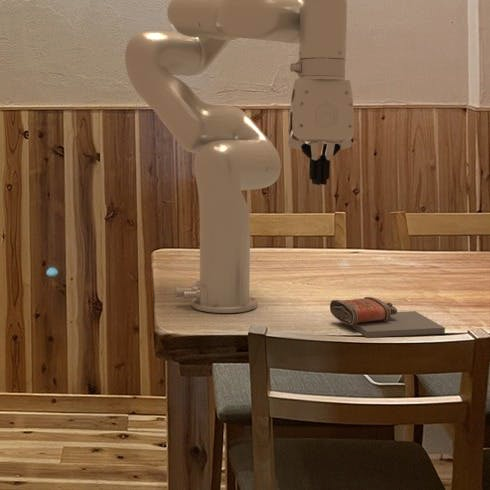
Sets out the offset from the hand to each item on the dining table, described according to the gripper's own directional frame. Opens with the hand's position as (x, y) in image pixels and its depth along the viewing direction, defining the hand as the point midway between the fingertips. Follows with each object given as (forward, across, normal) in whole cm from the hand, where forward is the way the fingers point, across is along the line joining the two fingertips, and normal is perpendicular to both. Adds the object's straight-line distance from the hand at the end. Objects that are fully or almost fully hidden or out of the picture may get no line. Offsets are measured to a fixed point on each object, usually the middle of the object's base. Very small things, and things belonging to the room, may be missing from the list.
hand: (319, 183), depth 133 cm
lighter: (+22, +5, +1) cm, 23 cm away
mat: (+25, +14, 0) cm, 29 cm away
